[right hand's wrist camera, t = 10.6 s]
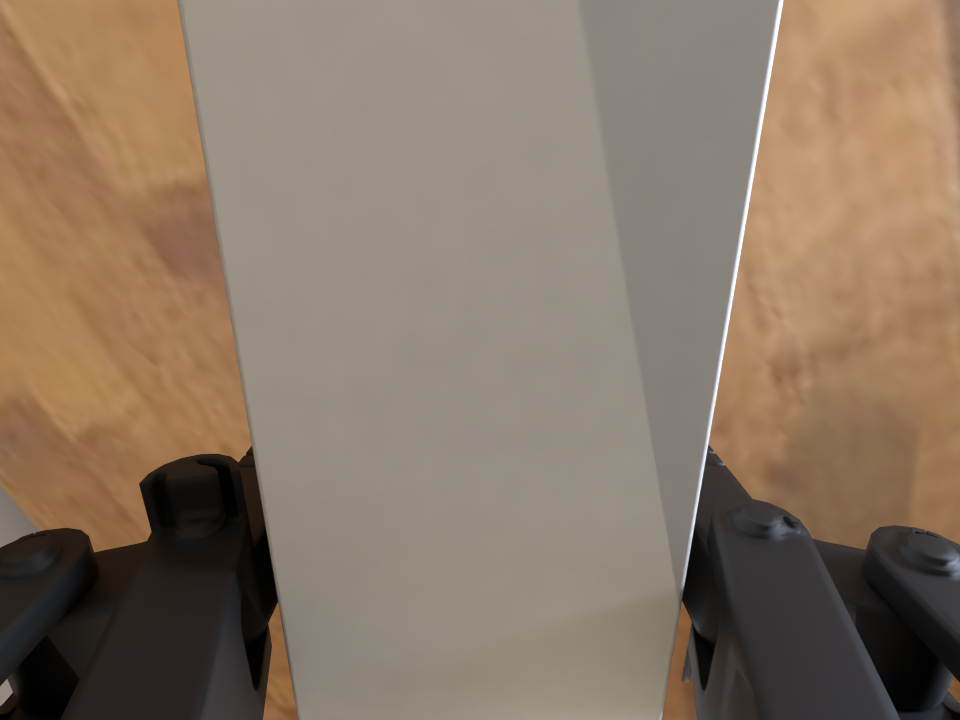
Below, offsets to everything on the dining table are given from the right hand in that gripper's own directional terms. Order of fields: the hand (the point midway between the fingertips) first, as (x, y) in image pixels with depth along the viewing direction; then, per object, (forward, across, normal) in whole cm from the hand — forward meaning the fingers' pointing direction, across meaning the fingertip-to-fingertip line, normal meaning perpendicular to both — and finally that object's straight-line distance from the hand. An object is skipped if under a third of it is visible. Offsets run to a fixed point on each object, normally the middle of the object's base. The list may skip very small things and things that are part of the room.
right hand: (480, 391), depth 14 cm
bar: (+1, 0, -22) cm, 22 cm away
